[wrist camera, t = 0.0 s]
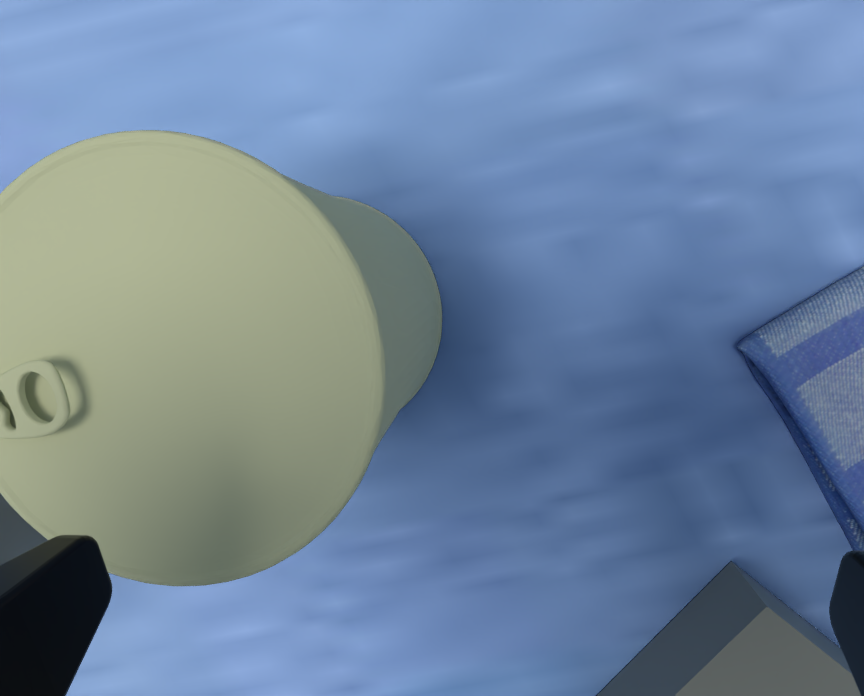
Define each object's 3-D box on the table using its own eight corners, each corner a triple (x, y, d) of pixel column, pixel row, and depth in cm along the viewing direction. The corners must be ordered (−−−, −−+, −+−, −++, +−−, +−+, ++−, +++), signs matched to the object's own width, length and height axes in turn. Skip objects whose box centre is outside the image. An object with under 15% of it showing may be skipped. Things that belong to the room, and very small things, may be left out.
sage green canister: (180, 235, 23) (-155, 205, 11) (404, 165, 22) (294, 46, 10) (252, 456, 24) (14, 643, 12) (470, 401, 23) (442, 552, 11)
